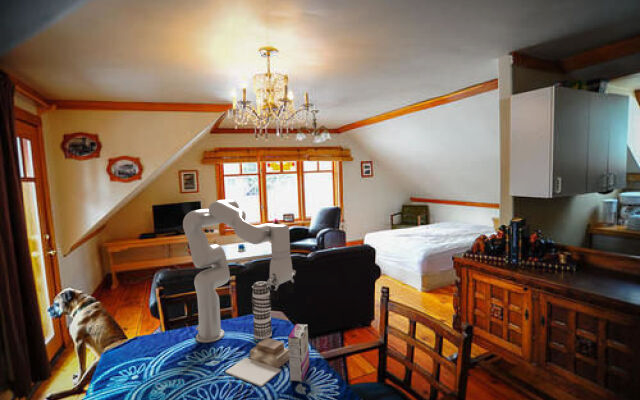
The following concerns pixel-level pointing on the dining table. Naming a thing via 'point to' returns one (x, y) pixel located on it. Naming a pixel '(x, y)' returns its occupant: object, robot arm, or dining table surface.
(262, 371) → the off-white mat
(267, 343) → the walnut tile
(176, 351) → the dining table surface
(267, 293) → the decorative candle
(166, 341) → the dining table surface
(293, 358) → the candy bar box
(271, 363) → the birch stand
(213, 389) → the dining table surface
